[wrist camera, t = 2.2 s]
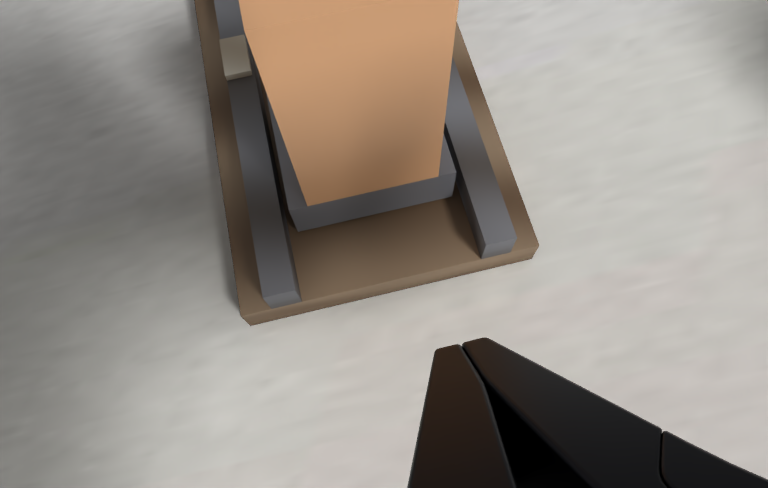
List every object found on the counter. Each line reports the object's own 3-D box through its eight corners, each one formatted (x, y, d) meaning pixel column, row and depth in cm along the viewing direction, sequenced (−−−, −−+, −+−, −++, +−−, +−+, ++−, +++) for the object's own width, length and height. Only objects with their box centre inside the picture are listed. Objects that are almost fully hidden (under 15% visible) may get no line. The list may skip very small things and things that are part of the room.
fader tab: (452, 196, 23) (490, -21, 13) (297, 232, 23) (213, 37, 13) (415, 79, 26) (422, -184, 15) (274, 110, 25) (185, -139, 15)
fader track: (531, 258, 24) (549, 227, 21) (250, 325, 23) (227, 303, 20) (421, -46, 31) (423, -103, 28) (201, -1, 30) (177, -55, 27)
